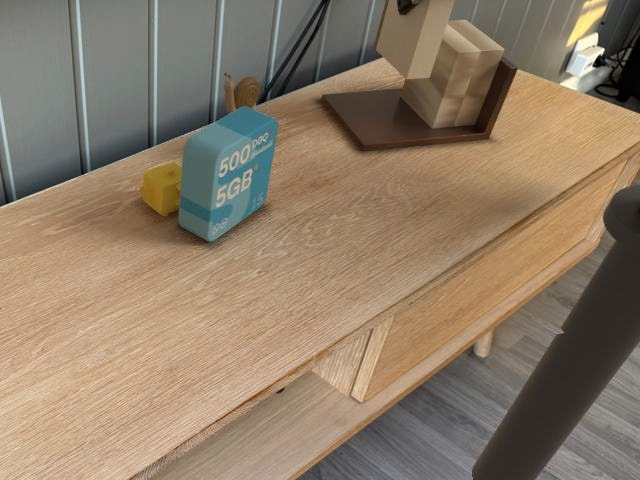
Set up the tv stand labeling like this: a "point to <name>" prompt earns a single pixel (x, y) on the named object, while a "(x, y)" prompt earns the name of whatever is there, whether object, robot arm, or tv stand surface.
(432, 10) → the cream book
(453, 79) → the book rack
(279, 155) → the tv stand surface
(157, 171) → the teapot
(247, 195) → the data package
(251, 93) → the snail figurine
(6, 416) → the tv stand surface
